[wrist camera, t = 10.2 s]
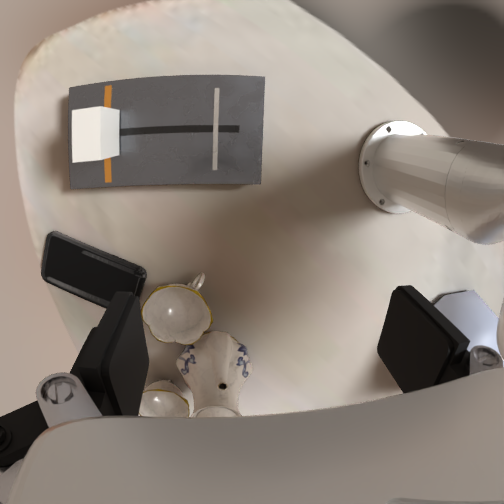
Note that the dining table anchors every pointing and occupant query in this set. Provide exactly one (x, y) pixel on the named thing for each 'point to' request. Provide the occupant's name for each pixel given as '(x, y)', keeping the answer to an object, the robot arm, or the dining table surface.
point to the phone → (88, 270)
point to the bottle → (471, 318)
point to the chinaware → (193, 356)
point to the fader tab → (95, 134)
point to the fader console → (176, 131)
